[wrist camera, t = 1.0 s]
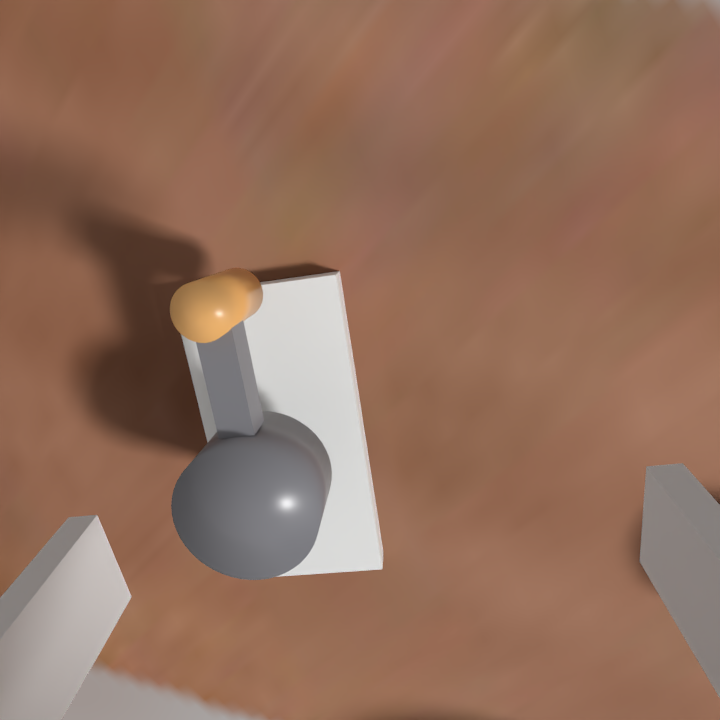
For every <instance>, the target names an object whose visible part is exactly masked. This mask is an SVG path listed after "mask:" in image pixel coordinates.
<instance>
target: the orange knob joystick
mask: <svg viewBox="0 0 720 720" xmlns="http://www.w3.org/2000/svg"><path fill="white" fill-rule="evenodd" d="M262 301H263V290H262V286H261V284H260V282H259V280H258V279H257V278H256V276H255V275H253V274H252V273H251V272H249V271H247V270H245V269H241V268H231V269H228V270H225V271H222V272H219V273H216V274H213V275H210V276H207V277H204V278H201V279H199V280H196V281H193V282H190V283H187V284H185V285H183V286H181V287H180V288H179V289H178V290H177V291H176V292H175V293H174V295H173V297H172V299H171V303H170V315H171V319H172V322H173V324H174V326H175V327H176V329H177V330H178V331H179V332H180V333H181V334H182V335H183V336H184V337H186V338H187V339H189V340H191V341H194V342H196V345H197V349H198V353H199V357H200V362H201V366H202V370H203V374H204V378H205V383H206V387H207V391H208V395H209V400H210V404H211V408H212V412H213V417H214V421H215V425H216V429H217V432H216V434H215V435H214V436H213V437H212V438H211V439H210V441H209V442H208V443H207V444H206V445H205V447H204V448H203V449H202V450H201V451H200V452H199V454H198V455H197V456H196V457H195V458H194V460H193V461H192V462H191V463H190V464H189V465H188V467H187V468H186V469H185V470H184V471H183V473H182V474H181V476H180V477H179V479H178V480H177V483H176V485H175V488H174V491H173V495H172V505H171V506H172V516H173V521H174V525H175V527H176V530H177V532H178V534H179V536H180V538H181V540H182V541H183V543H184V544H185V546H186V547H187V548H188V550H189V551H190V552H191V553H192V554H193V555H194V556H195V557H196V558H197V559H198V560H200V561H201V562H202V563H204V564H205V565H206V566H208V567H210V568H212V569H213V570H215V571H217V572H220V573H222V574H225V575H228V576H231V577H235V578H239V579H248V580H260V579H268V578H272V577H276V576H279V575H282V574H284V573H286V572H288V571H290V570H292V569H293V568H295V567H296V566H297V565H299V564H300V563H301V562H302V561H303V560H304V559H305V558H306V557H307V555H308V554H309V553H310V551H311V549H312V548H313V546H314V544H315V541H316V538H317V535H318V531H319V528H320V524H321V520H322V517H323V513H324V509H325V505H326V502H327V498H328V494H329V491H330V487H331V481H332V468H331V462H330V458H329V456H328V453H327V451H326V449H325V447H324V445H323V443H322V442H321V441H320V439H319V438H318V437H317V435H316V434H315V433H314V432H313V431H312V430H311V429H309V428H308V427H307V426H306V425H305V424H303V423H301V422H300V421H298V420H296V419H294V418H292V417H290V416H287V415H284V414H281V413H276V412H269V411H262V407H261V403H260V398H259V393H258V388H257V383H256V379H255V374H254V369H253V364H252V360H251V355H250V350H249V345H248V341H247V336H246V331H245V326H244V321H245V320H246V319H247V318H249V317H250V316H252V315H253V314H255V313H256V312H257V311H258V309H259V308H260V306H261V304H262Z"/></svg>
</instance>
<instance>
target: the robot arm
mask: <svg viewBox="0 0 720 720" xmlns="http://www.w3.org/2000/svg"><path fill="white" fill-rule="evenodd" d="M640 563H641V565H642V567H643V568H644V570H645V572H646V573H647V575H648V577H649V578H650V580H651V582H652V584H653V585H654V587H655V589H656V590H657V592H658V594H659V595H660V597H661V599H662V601H663V602H664V604H665V606H666V607H667V609H668V611H669V612H670V614H671V616H672V618H673V619H674V621H675V623H676V624H677V626H678V628H679V629H680V631H681V633H682V635H683V636H684V638H685V640H686V641H687V643H688V645H689V646H690V648H691V650H692V652H693V653H694V655H695V657H696V658H697V660H698V662H699V663H700V665H701V667H702V669H703V670H704V672H705V674H706V675H707V677H708V679H709V680H710V682H711V684H712V686H713V687H714V689H715V691H716V692H717V694H718V696H719V697H720V505H719V503H718V502H717V501H716V500H715V499H714V498H713V497H712V496H711V495H710V493H709V492H708V491H707V490H706V489H705V488H704V487H703V486H702V484H701V483H700V482H699V481H698V480H697V479H696V478H695V477H694V476H693V474H692V473H691V472H690V471H689V470H688V469H687V468H686V467H685V466H684V464H683V463H682V464H671V465H659V466H648V467H646V480H645V493H644V507H643V521H642V534H641V548H640ZM130 599H131V595H130V592H129V590H128V587H127V585H126V583H125V580H124V578H123V575H122V573H121V571H120V568H119V566H118V564H117V561H116V559H115V556H114V554H113V552H112V549H111V547H110V544H109V542H108V540H107V537H106V535H105V532H104V530H103V528H102V525H101V523H100V521H99V518H98V516H97V515H91V516H80V517H69V518H68V519H67V520H66V521H65V522H64V524H63V525H62V526H61V527H60V528H59V529H58V531H57V532H56V533H55V534H54V535H53V537H52V538H51V539H50V540H49V541H48V542H47V544H46V545H45V546H44V547H43V548H42V549H41V551H40V552H39V553H38V554H37V555H36V557H35V558H34V559H33V560H32V561H31V562H30V564H29V565H28V566H27V567H26V568H25V569H24V571H23V572H22V573H21V574H20V575H19V577H18V578H17V579H16V580H15V581H14V582H13V584H12V585H11V586H10V587H9V588H8V589H7V591H6V592H5V593H4V594H3V595H2V596H1V598H0V720H62V719H63V717H64V715H65V713H66V712H67V710H68V708H69V706H70V705H71V703H72V701H73V699H74V697H75V696H76V694H77V692H78V691H79V689H80V687H81V685H82V683H83V682H84V680H85V678H86V676H87V675H88V673H89V671H90V669H91V668H92V666H93V664H94V662H95V660H96V659H97V657H98V655H99V653H100V652H101V650H102V648H103V646H104V645H105V643H106V641H107V639H108V638H109V636H110V634H111V632H112V630H113V629H114V627H115V625H116V623H117V622H118V620H119V618H120V616H121V615H122V613H123V611H124V609H125V607H126V606H127V604H128V602H129V600H130Z"/></svg>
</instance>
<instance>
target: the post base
mask: <svg viewBox="0 0 720 720" xmlns="http://www.w3.org/2000/svg"><path fill="white" fill-rule="evenodd" d="M260 284H261V286H262V290H263V301H262V304H261V306H260V308H259V309H258V311H257V312H256V313H255V314H253V315H252V316H250V317H249V318H247V319H246V320H245V321H244V326H245V331H246V336H247V341H248V345H249V350H250V355H251V360H252V364H253V369H254V374H255V379H256V383H257V388H258V393H259V398H260V403H261V407H262V411H269V412H276V413H281V414H284V415H287V416H290V417H292V418H294V419H296V420H298V421H300V422H301V423H303V424H305V425H306V426H307V427H308V428H309V429H311V430H312V431H313V432H314V433H315V434H316V435H317V437H318V438H319V439H320V441H321V442H322V443H323V445H324V447H325V449H326V451H327V453H328V456H329V458H330V462H331V468H332V481H331V487H330V491H329V494H328V498H327V502H326V505H325V509H324V513H323V517H322V520H321V524H320V528H319V531H318V535H317V538H316V541H315V544H314V546H313V548H312V549H311V551H310V553H309V554H308V555H307V557H306V558H305V559H304V560H303V561H302V562H301V563H300V564H299V565H297V566H296V567H295V568H293V569H292V570H290V571H288V572H286V573H284V574H282V575H279V576H292V575H307V574H321V573H335V572H350V571H364V570H378V569H382V567H383V546H382V540H381V534H380V527H379V521H378V514H377V508H376V501H375V495H374V489H373V482H372V476H371V469H370V463H369V456H368V450H367V444H366V437H365V431H364V424H363V418H362V411H361V405H360V399H359V392H358V386H357V379H356V373H355V366H354V360H353V354H352V347H351V341H350V334H349V328H348V322H347V315H346V309H345V302H344V296H343V289H342V283H341V277H340V271H337V272H330V273H323V274H315V275H308V276H301V277H294V278H287V279H280V280H273V281H265V282H260ZM181 336H182V340H183V344H184V348H185V352H186V356H187V360H188V364H189V368H190V373H191V377H192V381H193V385H194V389H195V393H196V397H197V401H198V405H199V410H200V414H201V418H202V422H203V426H204V430H205V434H206V438H207V443H208V442H209V441H210V439H211V438H212V437H213V436H214V435H215V434H216V432H217V429H216V425H215V421H214V417H213V412H212V408H211V404H210V400H209V395H208V391H207V387H206V383H205V378H204V374H203V370H202V366H201V362H200V357H199V353H198V349H197V345H196V342H194V341H191V340H189V339H187V338H186V337H184V336H183V335H182V334H181ZM276 577H278V576H276Z"/></svg>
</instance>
